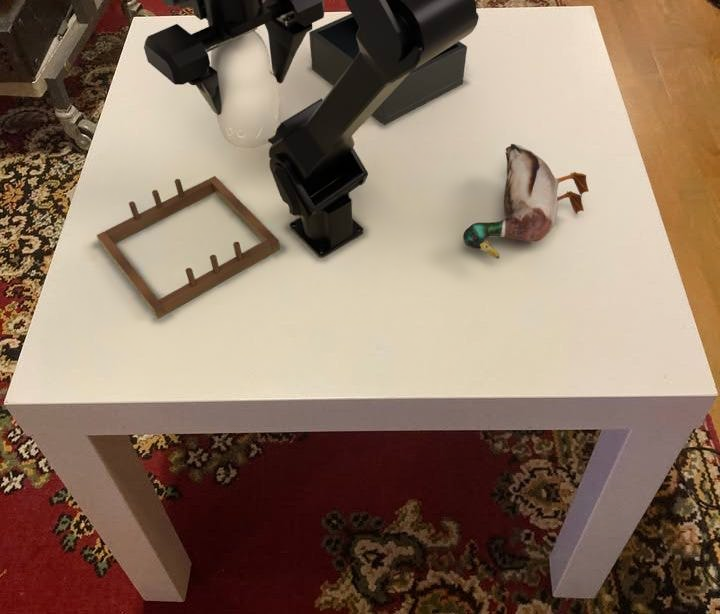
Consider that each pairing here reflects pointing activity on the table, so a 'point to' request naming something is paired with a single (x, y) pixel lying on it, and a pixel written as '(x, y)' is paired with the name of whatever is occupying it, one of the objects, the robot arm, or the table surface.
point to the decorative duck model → (526, 201)
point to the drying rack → (194, 285)
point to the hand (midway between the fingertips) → (248, 96)
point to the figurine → (246, 91)
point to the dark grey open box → (423, 84)
